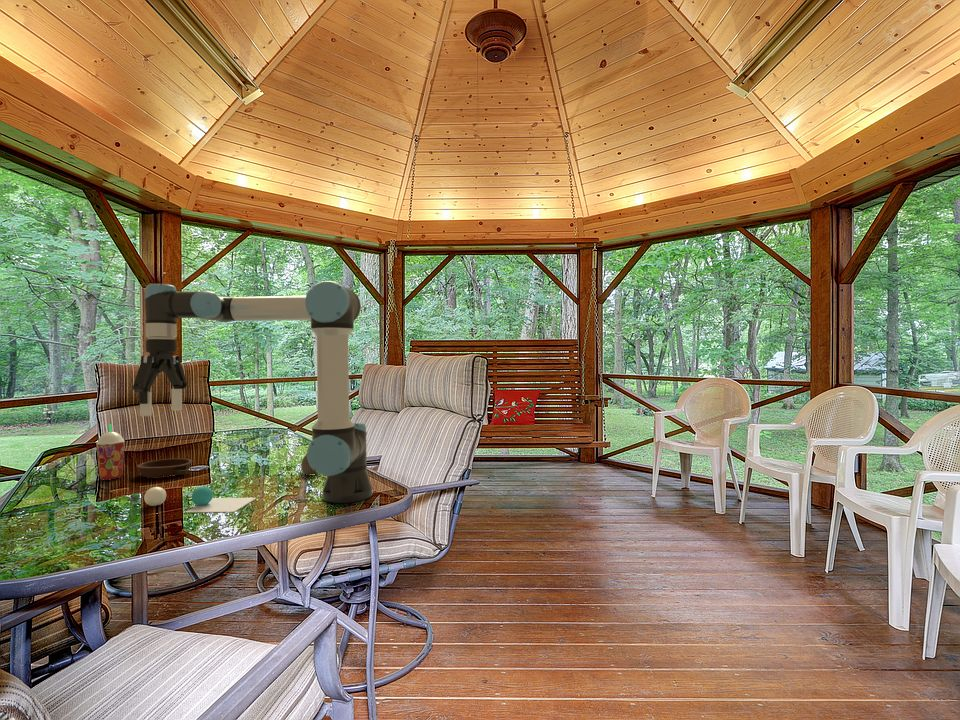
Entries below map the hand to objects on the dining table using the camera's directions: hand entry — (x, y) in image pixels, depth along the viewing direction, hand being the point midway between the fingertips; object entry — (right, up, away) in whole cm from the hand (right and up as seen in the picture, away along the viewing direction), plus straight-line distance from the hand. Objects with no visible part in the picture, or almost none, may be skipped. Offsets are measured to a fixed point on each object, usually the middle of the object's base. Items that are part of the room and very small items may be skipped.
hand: (162, 413), depth 141 cm
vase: (+28, -28, +43) cm, 58 cm away
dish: (-28, -29, +45) cm, 61 cm away
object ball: (+8, -25, +5) cm, 27 cm away
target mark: (+15, -28, +5) cm, 32 cm away
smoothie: (-44, -29, +40) cm, 66 cm away
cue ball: (-6, -25, +5) cm, 26 cm away
